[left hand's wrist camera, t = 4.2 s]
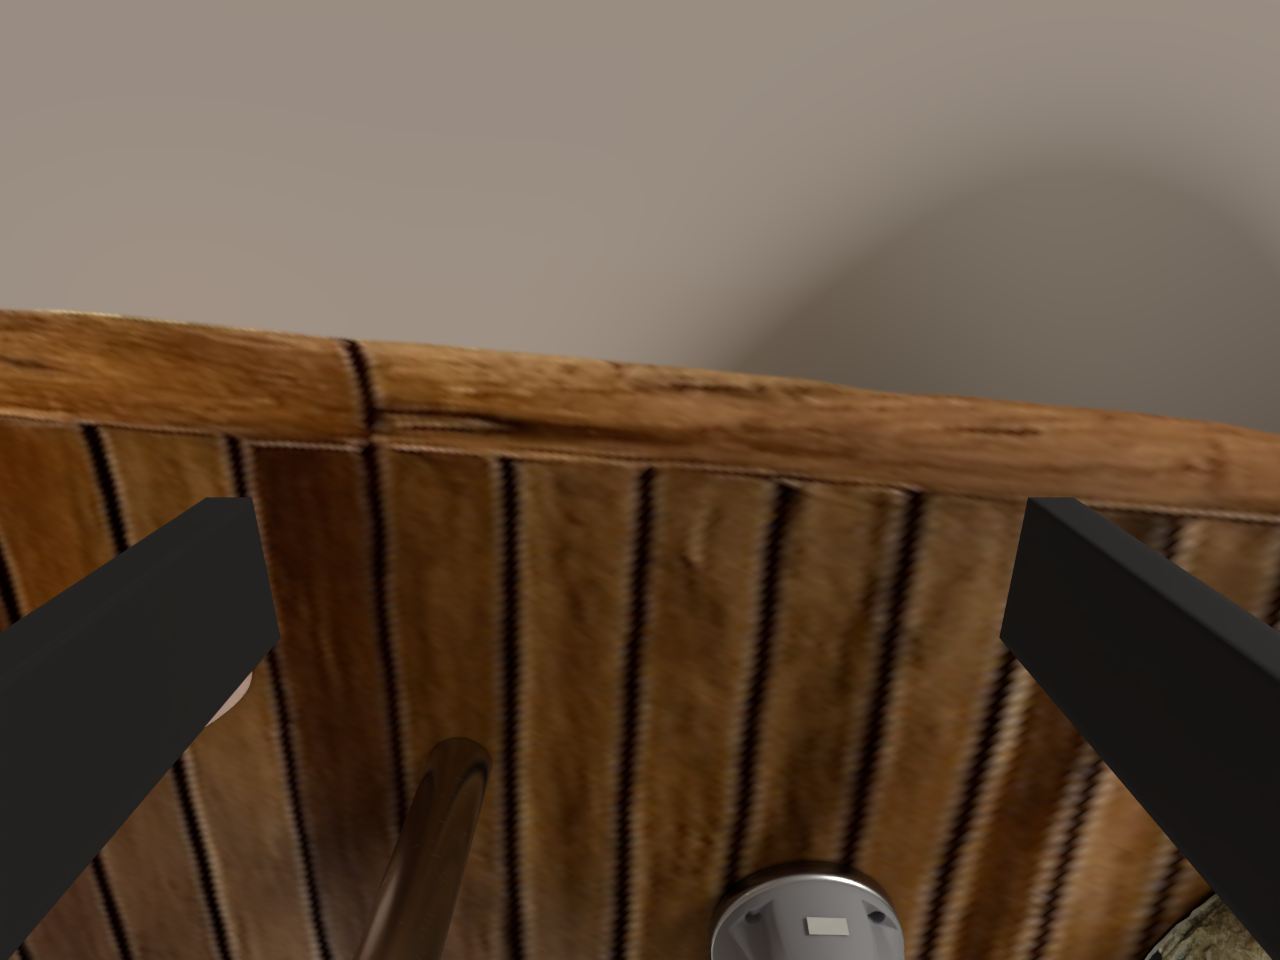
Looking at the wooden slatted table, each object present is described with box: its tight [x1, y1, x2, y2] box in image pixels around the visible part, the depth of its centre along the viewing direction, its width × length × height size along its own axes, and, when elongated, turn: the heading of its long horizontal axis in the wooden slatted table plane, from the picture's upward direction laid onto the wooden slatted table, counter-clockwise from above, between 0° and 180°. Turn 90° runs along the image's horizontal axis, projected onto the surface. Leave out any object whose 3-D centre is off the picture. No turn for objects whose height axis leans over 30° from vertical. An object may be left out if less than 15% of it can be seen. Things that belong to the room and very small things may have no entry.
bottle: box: [352, 738, 492, 960], centre depth 42 cm, size 4×5×23 cm
